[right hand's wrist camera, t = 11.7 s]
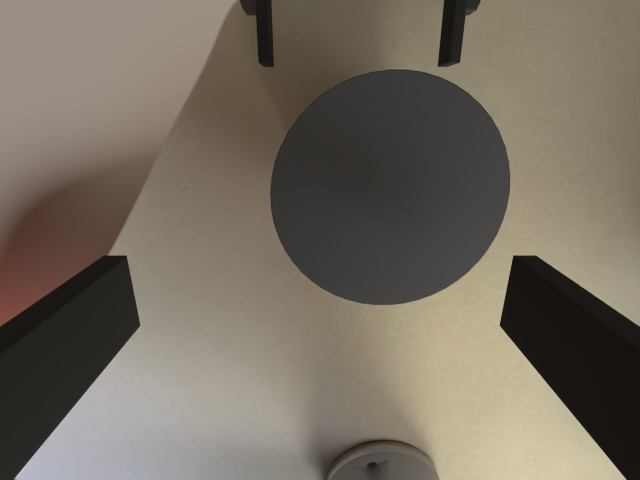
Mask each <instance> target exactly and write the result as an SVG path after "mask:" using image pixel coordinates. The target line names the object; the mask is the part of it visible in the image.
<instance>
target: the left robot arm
mask: <svg viewBox="0 0 640 480" xmlns="http://www.w3.org/2000/svg"><path fill="white" fill-rule="evenodd" d="M240 2H241V5H242V7H243V10H244V11H245V13H246V14H247V15H256V19H257V38H258V58H259V63H260V64H261V65H263V66H264V67H274V60H273V35H272V9H271V0H240ZM479 3H480V0H444V8H443V19H442V29H441V39H440V49H439V60H438V67H448V66H451V65H454V64H456V63H459V62H460V57H461V48H462V40H463V31H464V22H465V15H470V14H471V13H473V12H474V11H476V10H477V8H478V5H479Z"/></svg>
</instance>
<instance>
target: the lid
mask: <svg viewBox="0 0 640 480" xmlns="http://www.w3.org/2000/svg"><path fill="white" fill-rule="evenodd" d="M509 191H510V171H509V161H508V157H507V152H506V148H505V145H504V142H503V140H502V137H501V135H500V132H499V130H498V128H497V127H496V125H495V123H494V122H493V120H492V118H491V117H490V115H489V114H488V113H487V112H486V110H485V109H484V108H483V107H482V105H481V104H480V103H479V102H478V101H476V100H475V99H474V98H473V97H472V96H471V95H470V94H469V93H467V92H466V91H464V90H463V89H461V88H460V87H458V86H457V85H455V84H453V83H451V82H449V81H447V80H445V79H443V78H441V77H438V76H435V75H431V74H428V73H425V72H419V71H412V70H384V71H377V72H371V73H367V74H364V75H360V76H357V77H354V78H352V79H350V80H347V81H345V82H343V83H341V84H338V85H337V86H335V87H334V88H332V89H330V90H329V91H327V92H326V93H324V94H323V95H321V96H320V97H319V98H318V99H317V100H315V101H314V102H313V103H312V104H311V105H310V106H309V107H308V108H307V109H306V110H305V111H304V112H303V113H302V114H301V115H300V116H299V117H298V119H297V120H296V122H295V123H294V124H293V126H292V127H291V129H290V130H289V132H288V133H287V135H286V137H285V139H284V141H283V143H282V145H281V147H280V150H279V153H278V155H277V158H276V161H275V165H274V169H273V174H272V180H271V192H270V194H271V210H272V215H273V221H274V225H275V228H276V231H277V234H278V237H279V239H280V241H281V243H282V245H283V247H284V249H285V251H286V252H287V254H288V255H289V257H290V258H291V260H292V261H293V263H294V264H295V265H296V266H297V267H298V268H299V270H300V271H301V272H302V273H303V274H304V275H306V276H307V277H308V278H309V279H310V280H311V281H312V282H314V283H315V284H317V285H318V286H320V287H321V288H323V289H324V290H326V291H328V292H330V293H332V294H334V295H336V296H339V297H341V298H344V299H347V300H350V301H354V302H358V303H363V304H372V305H394V304H402V303H407V302H412V301H416V300H419V299H422V298H425V297H428V296H431V295H433V294H435V293H437V292H439V291H441V290H443V289H445V288H447V287H448V286H450V285H451V284H453V283H454V282H456V281H457V280H459V279H460V278H461V277H462V276H464V275H465V274H466V273H467V272H469V271H470V270H471V268H472V267H473V266H474V265H475V264H476V263H477V262H478V261H479V260H480V259H481V258H482V256H483V255H484V254H485V253H486V251H487V250H488V249H489V247H490V245H491V244H492V242H493V240H494V239H495V237H496V235H497V233H498V231H499V228H500V226H501V224H502V221H503V218H504V215H505V212H506V209H507V204H508V198H509Z"/></svg>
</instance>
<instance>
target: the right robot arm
mask: <svg viewBox="0 0 640 480" xmlns="http://www.w3.org/2000/svg"><path fill="white" fill-rule="evenodd" d="M139 326H140V321H139V316H138V311H137V306H136V301H135V296H134V291H133V286H132V281H131V276H130V271H129V265H128V260H127V256H103V257H101V258H100V259H98V260H97V261H95V262H94V263H93V264H91V265H90V266H88V267H87V268H85V269H84V270H82V271H81V272H79V273H78V274H77V275H75V276H74V277H72V278H71V279H69V280H68V281H66V282H65V283H64V284H62V285H61V286H59V287H58V288H56V289H55V290H53V291H52V292H50V293H49V294H48V295H46V296H45V297H43V298H42V299H40V300H39V301H37V302H36V303H34V304H33V305H31V306H30V307H28V308H27V309H26V310H24V311H23V312H21V313H20V314H18V315H17V316H15V317H14V318H12V319H11V320H10V321H8V322H7V323H5V324H4V325H2V326H1V327H0V480H13V479H14V478H15V477H16V476H17V475H18V473H19V472H20V471H21V470H22V468H23V467H24V466H25V465H26V464H27V462H28V461H29V460H30V459H31V458H32V456H33V455H34V454H35V453H36V451H37V450H38V449H39V448H40V447H41V445H42V444H43V443H44V442H45V441H46V439H47V438H48V437H49V436H50V434H51V433H52V432H53V431H54V430H55V428H56V427H57V426H58V425H59V424H60V422H61V421H62V420H63V419H64V417H65V416H66V415H67V414H68V413H69V411H70V410H71V409H72V408H73V407H74V405H75V404H76V403H77V402H78V400H79V399H80V398H81V397H82V396H83V394H84V393H85V392H86V391H87V390H88V388H89V387H90V386H91V385H92V384H93V382H94V381H95V380H96V379H97V377H98V376H99V375H100V374H101V373H102V371H103V370H104V369H105V368H106V367H107V365H108V364H109V363H110V362H111V360H112V359H113V358H114V357H115V356H116V354H117V353H118V352H119V351H120V350H121V348H122V347H123V346H124V345H125V343H126V342H127V341H128V340H129V339H130V337H131V336H132V335H133V334H134V333H135V331H136V330H137V329H138V328H139ZM500 326H501V328H502V329H503V330H504V331H505V333H506V334H507V335H508V336H509V337H510V339H511V340H512V341H513V342H514V343H515V345H516V346H517V347H518V348H519V350H520V351H521V352H522V353H523V354H524V356H525V357H526V358H527V359H528V360H529V362H530V363H531V364H532V365H533V367H534V368H535V369H536V370H537V371H538V373H539V374H540V375H541V376H542V377H543V379H544V380H545V381H546V382H547V384H548V385H549V386H550V387H551V388H552V390H553V391H554V392H555V393H556V394H557V396H558V397H559V398H560V399H561V400H562V402H563V403H564V404H565V405H566V407H567V408H568V409H569V410H570V411H571V413H572V414H573V415H574V416H575V417H576V419H577V420H578V421H579V422H580V424H581V425H582V426H583V427H584V428H585V430H586V431H587V432H588V433H589V434H590V436H591V437H592V438H593V439H594V441H595V442H596V443H597V444H598V445H599V447H600V448H601V449H602V450H603V451H604V453H605V454H606V455H607V456H608V458H609V459H610V460H611V461H612V462H613V464H614V465H615V466H616V467H617V468H618V470H619V471H620V472H621V473H622V475H623V476H624V477H625V478H626V479H627V480H640V327H639V326H638V325H636V324H635V323H633V322H632V321H630V320H629V319H628V318H626V317H625V316H623V315H622V314H620V313H619V312H617V311H616V310H614V309H613V308H612V307H610V306H609V305H607V304H606V303H604V302H603V301H601V300H600V299H598V298H597V297H595V296H594V295H593V294H591V293H590V292H588V291H587V290H585V289H584V288H582V287H581V286H579V285H578V284H577V283H575V282H574V281H572V280H571V279H569V278H568V277H566V276H565V275H563V274H562V273H561V272H559V271H558V270H556V269H555V268H553V267H552V266H550V265H549V264H547V263H546V262H545V261H543V260H542V259H540V258H539V257H537V256H513V260H512V265H511V271H510V276H509V281H508V286H507V291H506V296H505V301H504V306H503V311H502V316H501V321H500ZM326 480H439V478H438V475H437V472H436V469H435V466H434V464H433V463H432V461H431V460H430V459H429V458H428V457H427V456H426V455H425V454H424V453H423V452H421V451H420V450H418V449H416V448H414V447H412V446H410V445H407V444H403V443H399V442H392V441H378V442H371V443H366V444H362V445H359V446H357V447H354V448H352V449H350V450H348V451H347V452H345V453H344V454H342V455H341V456H340V457H339V458H338V459H337V460H336V461H335V462H334V463H333V464H332V466H331V467H330V469H329V471H328V474H327V478H326Z"/></svg>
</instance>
